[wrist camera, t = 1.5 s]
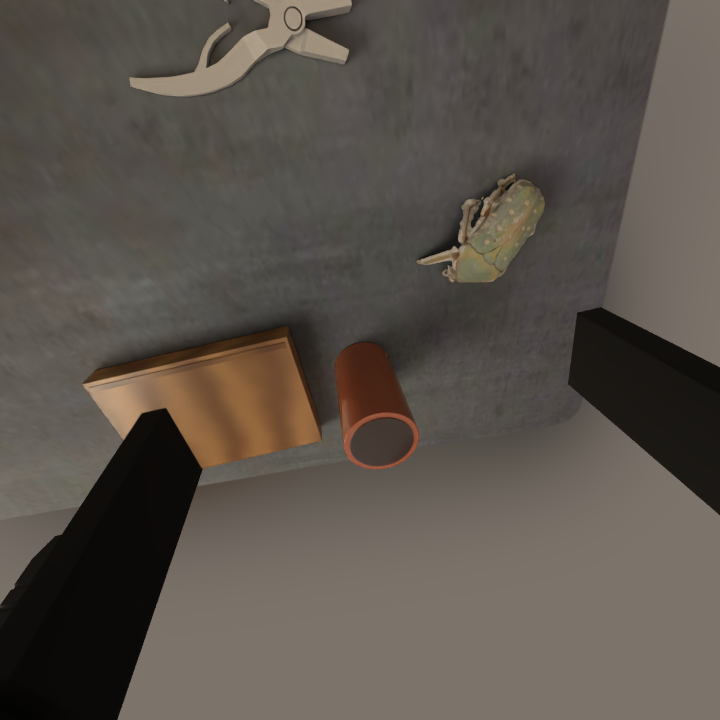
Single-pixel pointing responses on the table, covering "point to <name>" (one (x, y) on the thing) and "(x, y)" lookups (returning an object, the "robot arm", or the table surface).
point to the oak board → (217, 396)
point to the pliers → (256, 48)
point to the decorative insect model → (492, 232)
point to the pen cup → (373, 408)
